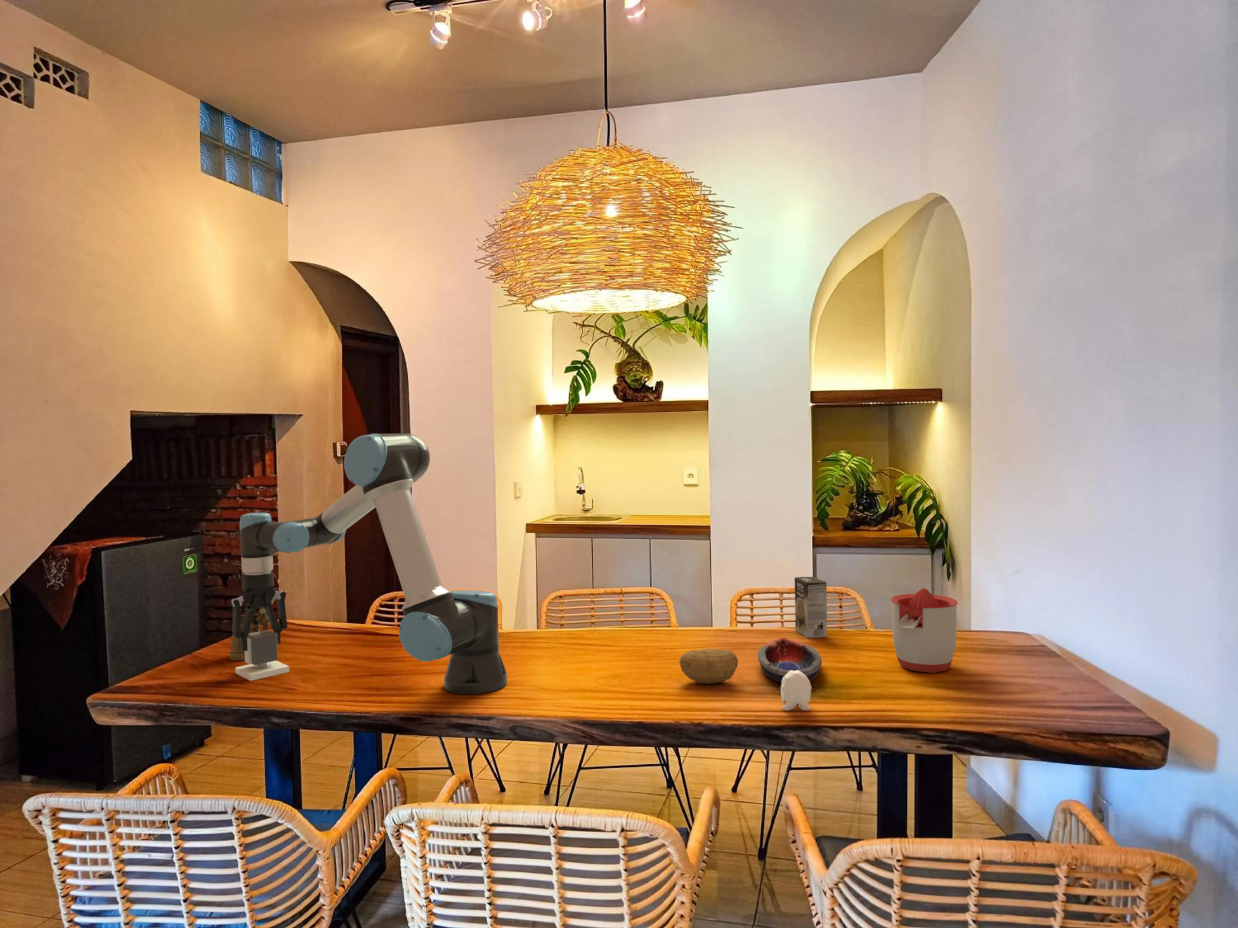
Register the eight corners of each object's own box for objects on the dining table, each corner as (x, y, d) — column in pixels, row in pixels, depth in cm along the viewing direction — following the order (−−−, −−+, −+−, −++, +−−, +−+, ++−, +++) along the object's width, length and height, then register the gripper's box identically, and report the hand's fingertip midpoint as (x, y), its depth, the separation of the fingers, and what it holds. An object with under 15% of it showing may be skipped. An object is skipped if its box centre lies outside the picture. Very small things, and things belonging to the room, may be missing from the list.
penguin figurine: (782, 673, 176) (775, 662, 188) (783, 714, 176) (776, 700, 188) (812, 673, 176) (803, 662, 188) (813, 713, 175) (804, 700, 187)
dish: (758, 689, 194) (758, 668, 193) (757, 653, 224) (757, 635, 224) (826, 691, 191) (826, 670, 191) (816, 654, 221) (815, 635, 221)
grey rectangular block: (268, 655, 221) (267, 627, 221) (277, 660, 217) (276, 631, 216) (245, 660, 217) (244, 632, 216) (254, 665, 212) (253, 636, 212)
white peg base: (289, 671, 217) (288, 647, 216) (250, 680, 210) (249, 655, 209) (273, 664, 224) (272, 640, 224) (235, 673, 217) (234, 648, 217)
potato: (680, 676, 205) (679, 644, 204) (737, 676, 203) (737, 644, 203) (678, 688, 195) (677, 655, 195) (738, 689, 193) (737, 656, 193)
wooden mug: (269, 660, 228) (266, 596, 227) (222, 660, 229) (219, 596, 228) (285, 651, 237) (282, 589, 236) (240, 651, 238) (237, 589, 237)
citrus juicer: (876, 669, 206) (876, 590, 205) (908, 654, 218) (908, 579, 217) (938, 682, 195) (938, 598, 194) (968, 665, 207) (967, 586, 206)
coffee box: (794, 630, 246) (793, 577, 245) (814, 629, 247) (814, 575, 246) (806, 638, 237) (806, 582, 236) (827, 636, 238) (827, 581, 237)
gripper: (287, 565, 225) (291, 649, 226) (214, 575, 211) (218, 664, 213) (299, 568, 220) (303, 654, 221) (225, 579, 206) (229, 670, 207)
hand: (261, 659), depth 217 cm, fingers closed on grey rectangular block, 6 cm apart
